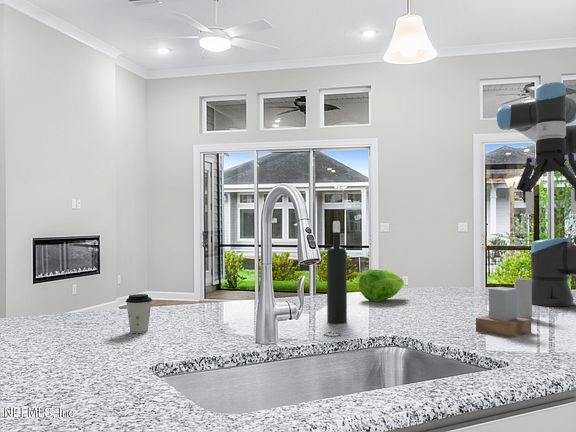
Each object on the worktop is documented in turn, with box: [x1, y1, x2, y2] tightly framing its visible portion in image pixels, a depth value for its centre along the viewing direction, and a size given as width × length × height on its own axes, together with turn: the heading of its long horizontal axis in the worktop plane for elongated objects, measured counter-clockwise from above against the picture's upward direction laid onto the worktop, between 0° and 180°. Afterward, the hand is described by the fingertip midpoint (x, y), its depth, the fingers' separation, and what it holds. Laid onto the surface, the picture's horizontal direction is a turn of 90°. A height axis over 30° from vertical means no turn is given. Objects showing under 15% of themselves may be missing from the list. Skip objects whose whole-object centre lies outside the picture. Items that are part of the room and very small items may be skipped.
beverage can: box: [513, 277, 533, 319], centre depth 157 cm, size 5×5×12 cm
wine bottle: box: [326, 220, 348, 325], centre depth 153 cm, size 6×6×30 cm
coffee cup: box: [125, 293, 153, 335], centre depth 140 cm, size 7×7×10 cm
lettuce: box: [358, 268, 405, 303], centre depth 193 cm, size 14×20×12 cm
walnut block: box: [475, 315, 532, 339], centre depth 138 cm, size 10×10×4 cm
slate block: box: [488, 286, 517, 321], centre depth 138 cm, size 5×5×8 cm
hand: (551, 213), depth 145 cm, fingers open, 13 cm apart
